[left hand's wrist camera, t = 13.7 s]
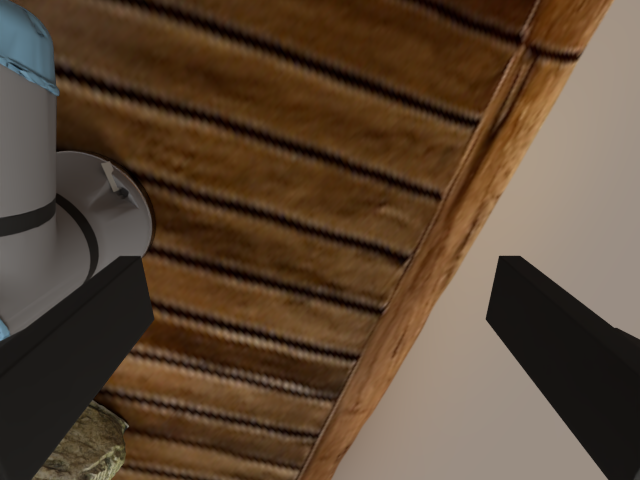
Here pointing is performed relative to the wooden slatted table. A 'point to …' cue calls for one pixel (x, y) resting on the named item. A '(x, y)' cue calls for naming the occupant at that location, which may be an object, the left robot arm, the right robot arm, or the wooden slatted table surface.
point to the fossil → (88, 448)
